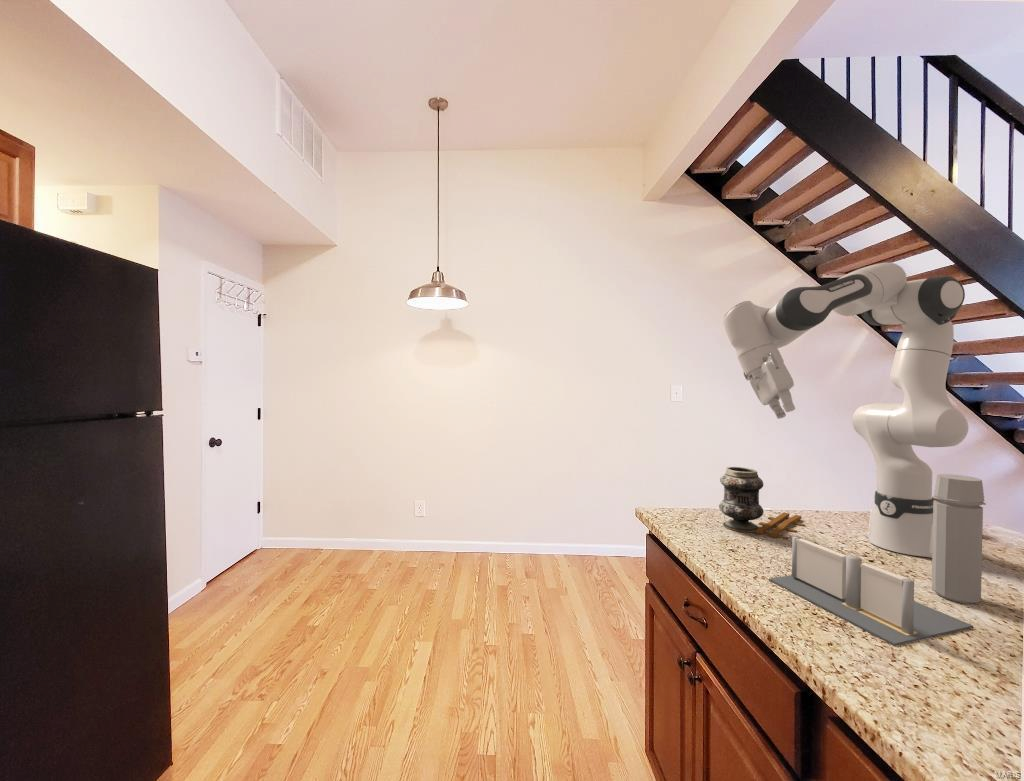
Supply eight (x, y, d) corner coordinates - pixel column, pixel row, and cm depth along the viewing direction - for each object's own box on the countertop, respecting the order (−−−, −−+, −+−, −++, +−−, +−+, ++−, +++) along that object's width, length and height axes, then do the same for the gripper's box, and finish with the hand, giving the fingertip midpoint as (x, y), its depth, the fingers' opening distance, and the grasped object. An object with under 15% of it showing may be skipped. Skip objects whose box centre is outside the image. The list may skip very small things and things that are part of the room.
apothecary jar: (771, 528, 131) (771, 470, 130) (750, 536, 124) (750, 474, 124) (732, 518, 141) (732, 463, 140) (711, 525, 134) (711, 467, 134)
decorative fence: (747, 533, 128) (785, 543, 121) (747, 527, 128) (785, 536, 121) (775, 516, 145) (810, 523, 138) (775, 510, 145) (810, 517, 137)
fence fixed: (851, 604, 86) (852, 554, 86) (917, 635, 75) (918, 579, 75) (842, 605, 86) (843, 556, 85) (907, 638, 75) (908, 581, 75)
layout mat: (835, 569, 102) (835, 567, 102) (973, 627, 78) (973, 624, 78) (768, 580, 97) (768, 578, 97) (894, 646, 72) (894, 643, 72)
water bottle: (986, 610, 84) (989, 483, 83) (930, 597, 89) (932, 477, 89) (980, 593, 91) (982, 475, 90) (928, 581, 96) (930, 470, 95)
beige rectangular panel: (795, 574, 98) (796, 536, 97) (846, 599, 87) (847, 555, 86) (790, 575, 97) (790, 537, 97) (840, 600, 86) (841, 556, 86)
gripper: (784, 344, 96) (813, 401, 92) (767, 368, 115) (790, 417, 110) (754, 354, 98) (781, 411, 94) (743, 376, 117) (764, 424, 112)
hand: (786, 414), depth 102 cm, fingers open, 8 cm apart
